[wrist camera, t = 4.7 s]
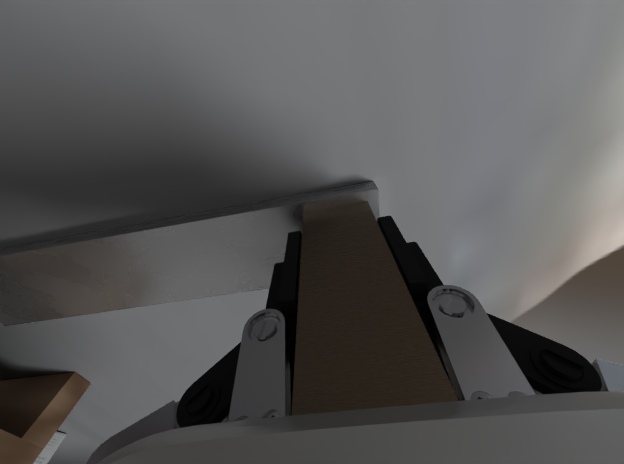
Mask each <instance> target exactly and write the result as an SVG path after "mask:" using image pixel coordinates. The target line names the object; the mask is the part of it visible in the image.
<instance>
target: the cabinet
mask: <svg viewBox="0 0 624 464" xmlns="http://www.w3.org/2000/svg"><path fill="white" fill-rule="evenodd" d="M89 385H90V383H89V382H88V381H86V380H85V379H84V378H82V377H81V376H80V375H78V374H77V373H75V372H71V373H63V374H54V375H46V376H38V377H29V378H21V379H12V380H4V381H0V464H33V463H34V461H35V460H36V459H37V457H38V456H39V455H40V453H41V452H42V450H43V449H44V448H45V446H46V445H47V443H48V442H49V441H50V439H51V438H52V437H53V435H54V434H55V432H56V431H57V430H58V428H59V427H60V425H61V424H62V423H63V421H64V420H65V419H66V417H67V416H68V414H69V413H70V412H71V410H72V409H73V407H74V406H75V405H76V403H77V402H78V401H79V399H80V398H81V396H82V395H83V394H84V392H85V391H86V389H87V388H88V387H89Z"/></svg>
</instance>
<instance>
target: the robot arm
mask: <svg viewBox="0 0 624 464" xmlns="http://www.w3.org/2000/svg"><path fill="white" fill-rule="evenodd" d="M377 223H378V225H379V227H380V229H381V232H382V234H383V236H384V238H385V240H386V243H387V245H388V247H389V249H390V251H391V254H392V256H393V258H394V260H395V262H396V265H397V267H398V269H399V271H400V273H401V275H402V278H403V280H404V282H405V284H406V286H407V289H408V291H409V293H410V295H411V297H412V300H413V302H414V304H415V306H416V308H417V311H418V313H419V315H420V317H421V319H422V322H423V324H424V326H425V328H426V330H427V333H428V335H429V337H430V339H431V341H432V343H433V346H434V348H435V350H436V352H437V354H438V357H439V359H440V361H441V363H442V365H443V368H444V370H445V372H446V374H447V376H448V379H449V381H450V383H451V385H452V387H453V390H454V392H455V394H456V396H457V398H458V401H453V402H441V403H429V404H417V405H405V406H394V407H382V408H371V409H359V410H348V411H337V412H325V413H314V414H304V415H293V416H292V399H293V381H294V364H295V347H296V330H297V313H298V295H299V278H300V261H301V244H302V233H301V231H295V232H289V233H288V237H287V244H286V251H285V257H284V262H280V263H275V265H274V269H273V274H272V279H271V284H270V289H269V294H268V299H267V304H266V309H264V310H261V311H259V312H257V313H255V314H254V315H253V316H252V317H251V318H249V320H248V321H247V323H246V324H245V326H244V329H243V334H242V340H241V342H240V343H239V344H238V345H237V346H236V347H235V348H233V349H232V350H231V351H230V352H229V353H228V354H227V355H225V356H224V357H223V358H222V359H221V360H220V361H219V362H217V363H216V364H215V365H214V366H213V367H212V368H210V369H209V370H208V371H207V372H206V373H205V374H204V375H202V376H201V377H200V378H199V379H198V380H197V381H196V382H194V383H193V384H192V385H191V386H190V387H189V388H188V389H187V390H186V392H185V393H184V395H183V396H182V398H181V400H180V401H178V402H177V403H176V402H175V401H174V400H173V401H171V402H170V403H168V404H166V405H165V406H163V407H161V408H160V409H158V410H156V411H154V412H153V413H151V414H149V415H148V416H146V417H144V418H142V419H141V420H139V421H137V422H136V423H134V424H132V425H131V426H129V427H127V428H125V429H124V430H122V431H120V432H119V433H117V434H115V435H113V436H112V437H110V438H109V439H108V440H106V441H105V442H104V443H102V444H101V445H100V446H99V447H98V448H97V449H96V450H95V452H94V453H93V454H92V455H91V457H90V458H89V460H88V461H87V463H86V464H624V366H623V365H619V364H615V363H611V362H608V361H604V360H599V359H595V360H594V362H591V361H588V360H587V359H585V358H584V357H583V356H581V355H580V354H579V353H577V352H576V351H574V350H572V349H570V348H568V347H566V346H564V345H562V344H560V343H557V342H555V341H552V340H550V339H548V338H545V337H543V336H540V335H538V334H536V333H533V332H531V331H529V330H526V329H524V328H521V327H519V326H517V325H514V324H512V323H509V322H507V321H505V320H502V319H500V318H497V317H495V316H493V315H490V314H488V313H486V312H485V310H484V309H483V307H482V305H481V304H480V302H479V301H478V299H477V298H476V297H475V296H474V295H473V294H472V293H470V292H469V291H467V290H465V289H463V288H461V287H457V286H453V285H443V283H442V282H441V280H440V279H439V277H438V275H437V274H436V272H435V271H434V269H433V268H432V266H431V264H430V263H429V261H428V260H427V258H426V257H425V255H424V253H423V252H422V250H421V249H420V247H419V246H418V244H417V243H416V242H410V243H406V241H405V239H404V238H403V236H402V234H401V232H400V231H399V229H398V227H397V226H396V224H395V222H394V220H393V219H392V217H391V216H385V217H379V218H377Z"/></svg>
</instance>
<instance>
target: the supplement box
mask: <svg viewBox="0 0 624 464" xmlns="http://www.w3.org/2000/svg"><path fill="white" fill-rule="evenodd" d="M65 436H66V434H65V433H61V432H57V431H56V432H55V434H54V435H53V437H52V438H51V439H50V441H49V442H48V443H47V445H46V446H45V448H44V449H43V450H42V452H41V453H40V455H39V456H38V457H37V459H36V460H35V461H34V463H33V464H47V463H48V462H49V460H50V459H51V457H52V456H53V454H54V453H55V451H56V450H57V448H58V447H59V445H60V444H61V442H62V441H63V439H64V437H65Z"/></svg>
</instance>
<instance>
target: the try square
mask: <svg viewBox="0 0 624 464" xmlns="http://www.w3.org/2000/svg"><path fill="white" fill-rule="evenodd" d="M377 218H379V196H378V188H377V186H376V185H375V183H374V181H370V182H365V183H359V184H353V185H348V186H342V187H337V188H331V189H326V190H320V191H315V192H309V193H304V194H298V195H293V196H287V197H282V198H276V199H271V200H265V201H260V202H254V203H249V204H243V205H237V206H232V207H226V208H221V209H215V210H210V211H204V212H199V213H193V214H188V215H182V216H177V217H171V218H166V219H160V220H155V221H149V222H144V223H138V224H133V225H127V226H122V227H116V228H111V229H105V230H100V231H94V232H89V233H83V234H78V235H72V236H67V237H61V238H56V239H50V240H45V241H39V242H34V243H28V244H23V245H17V246H12V247H6V248H0V323H1V324H2V325H4V326H8V325H15V324H22V323H29V322H36V321H43V320H50V319H57V318H64V317H71V316H78V315H85V314H92V313H99V312H106V311H113V310H120V309H127V308H134V307H141V306H148V305H155V304H162V303H169V302H177V301H184V300H191V299H198V298H205V297H212V296H219V295H226V294H233V293H240V292H247V291H254V290H261V289H268V288H270V284H271V279H272V274H273V269H274V265H275V263H280V262H284V257H285V251H286V244H287V237H288V233H289V232H295V231H301V233H302V244H301V261H300V278H299V295H298V313H297V330H296V347H295V364H294V381H293V399H292V416H293V415H304V414H314V413H325V412H337V411H348V410H359V409H371V408H382V407H394V406H405V405H417V404H429V403H441V402H453V401H458V398H457V396H456V394H455V392H454V390H453V387H452V385H451V383H450V381H449V379H448V376H447V374H446V372H445V370H444V368H443V365H442V363H441V361H440V359H439V357H438V354H437V352H436V350H435V348H434V346H433V343H432V341H431V339H430V337H429V335H428V333H427V330H426V328H425V326H424V324H423V322H422V319H421V317H420V315H419V313H418V311H417V308H416V306H415V304H414V302H413V300H412V297H411V295H410V293H409V291H408V289H407V286H406V284H405V282H404V280H403V278H402V275H401V273H400V271H399V269H398V267H397V265H396V262H395V260H394V258H393V256H392V254H391V251H390V249H389V247H388V245H387V243H386V240H385V238H384V236H383V234H382V232H381V229H380V227H379V225H378V223H377Z"/></svg>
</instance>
